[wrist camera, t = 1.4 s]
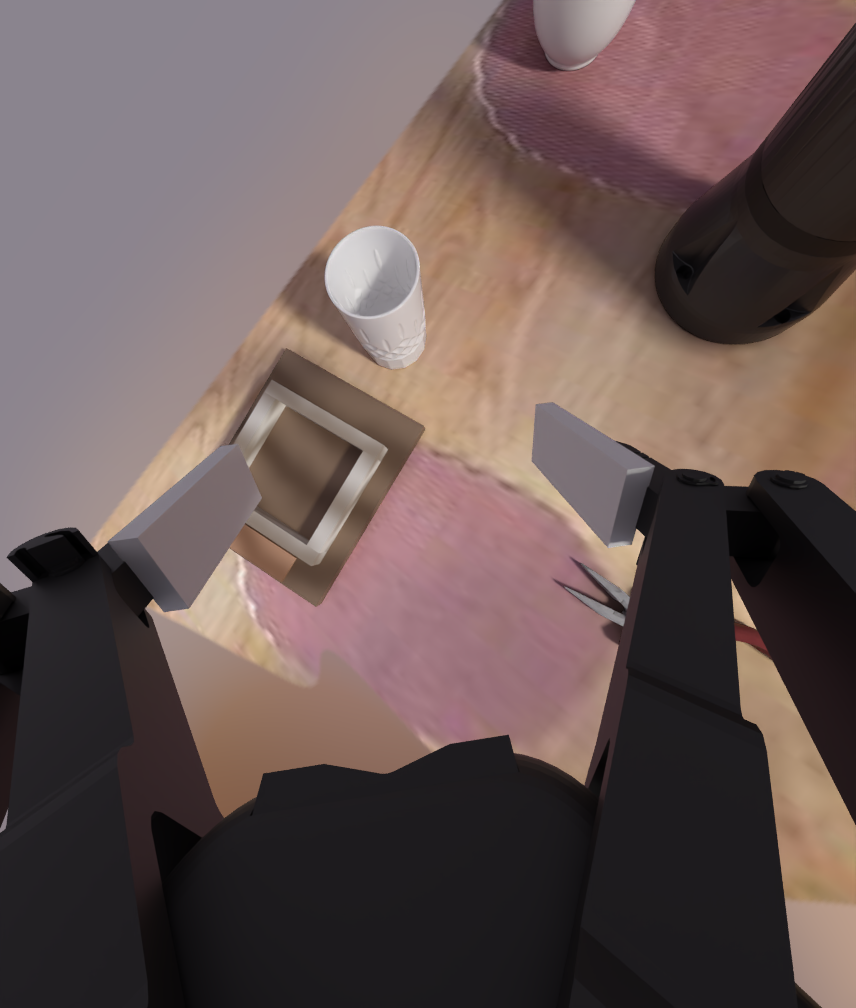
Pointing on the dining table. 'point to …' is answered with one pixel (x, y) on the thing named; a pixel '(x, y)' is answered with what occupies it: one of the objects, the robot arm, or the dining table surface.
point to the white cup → (379, 293)
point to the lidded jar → (577, 29)
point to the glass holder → (316, 472)
